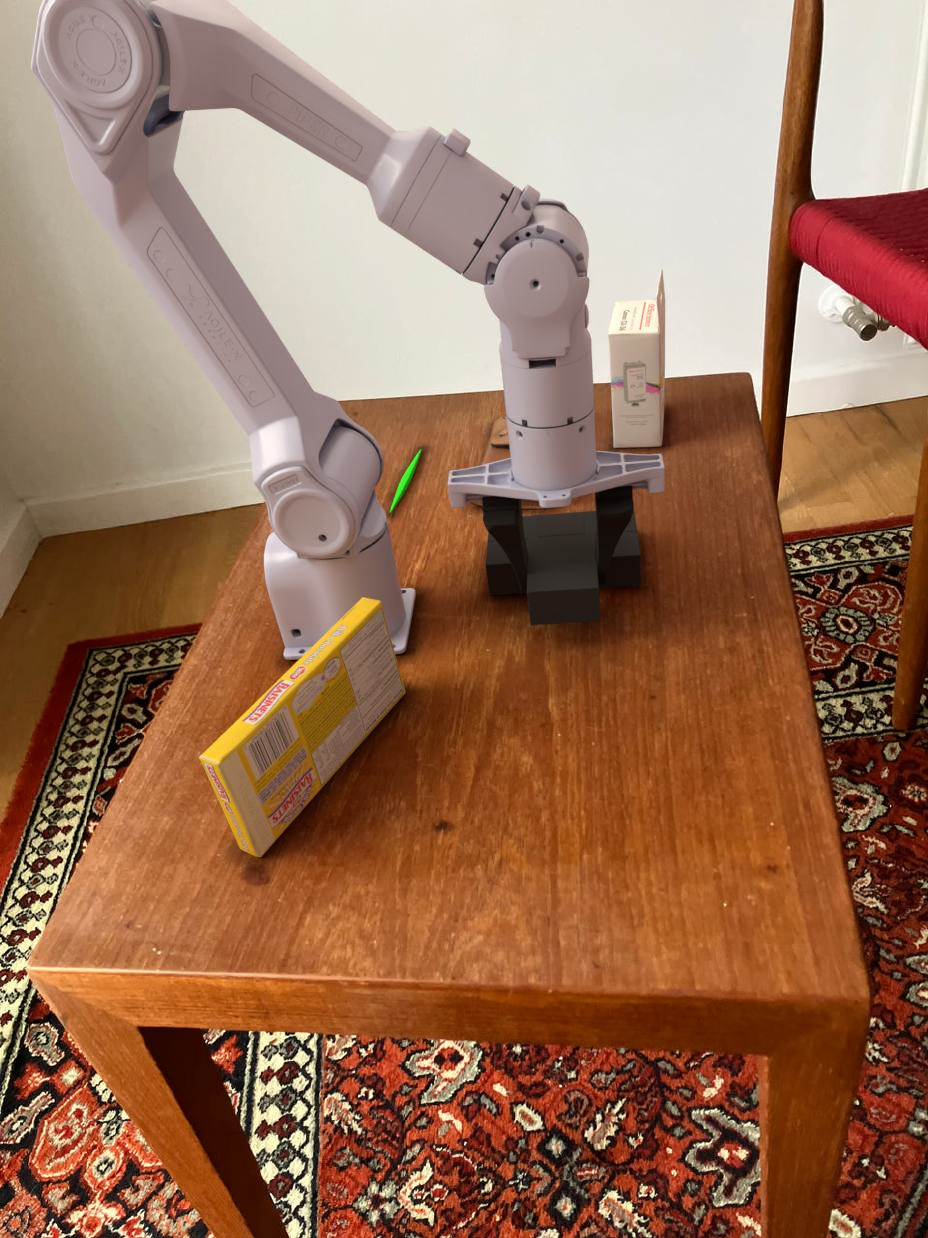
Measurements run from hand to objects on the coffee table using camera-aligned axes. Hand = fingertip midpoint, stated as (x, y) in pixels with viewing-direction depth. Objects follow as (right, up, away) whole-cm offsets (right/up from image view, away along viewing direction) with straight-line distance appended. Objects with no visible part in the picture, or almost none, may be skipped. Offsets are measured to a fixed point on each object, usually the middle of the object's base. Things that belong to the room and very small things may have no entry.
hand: (562, 579), depth 69 cm
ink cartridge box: (+10, +16, +26) cm, 32 cm away
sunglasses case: (-1, +12, +23) cm, 26 cm away
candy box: (-16, -13, -7) cm, 22 cm away
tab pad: (0, 0, +2) cm, 2 cm away
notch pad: (+1, +1, +8) cm, 8 cm away
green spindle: (-13, +10, +23) cm, 29 cm away
